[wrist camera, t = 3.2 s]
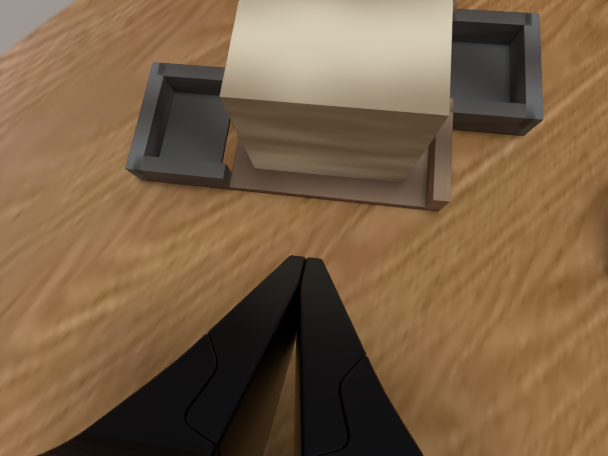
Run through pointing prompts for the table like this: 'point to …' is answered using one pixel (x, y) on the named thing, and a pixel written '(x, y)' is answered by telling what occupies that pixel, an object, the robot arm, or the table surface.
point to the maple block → (339, 84)
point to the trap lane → (411, 194)
